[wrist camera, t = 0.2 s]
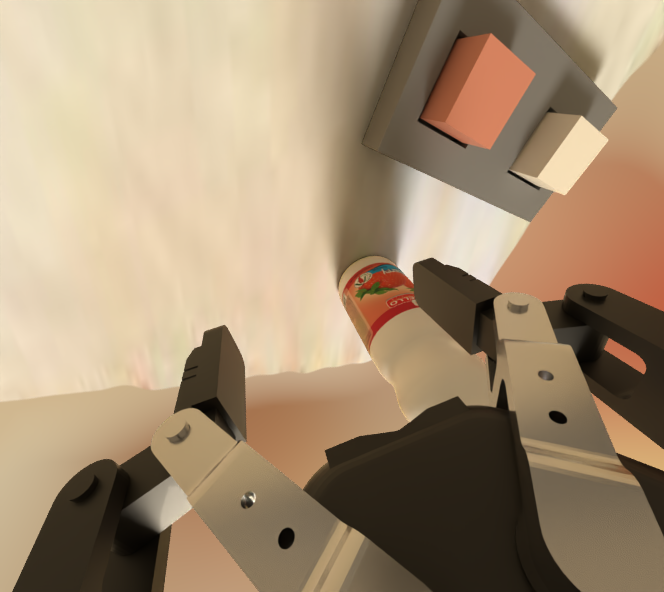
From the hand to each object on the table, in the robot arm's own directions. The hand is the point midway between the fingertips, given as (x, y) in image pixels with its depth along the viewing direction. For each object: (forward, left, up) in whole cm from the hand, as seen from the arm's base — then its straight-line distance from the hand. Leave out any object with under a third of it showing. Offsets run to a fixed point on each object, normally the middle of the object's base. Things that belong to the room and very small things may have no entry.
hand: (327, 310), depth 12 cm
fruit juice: (+10, +18, -23) cm, 30 cm away
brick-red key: (-13, +15, -19) cm, 27 cm away
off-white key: (-13, +29, -19) cm, 37 cm away
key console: (-13, +22, -22) cm, 34 cm away
